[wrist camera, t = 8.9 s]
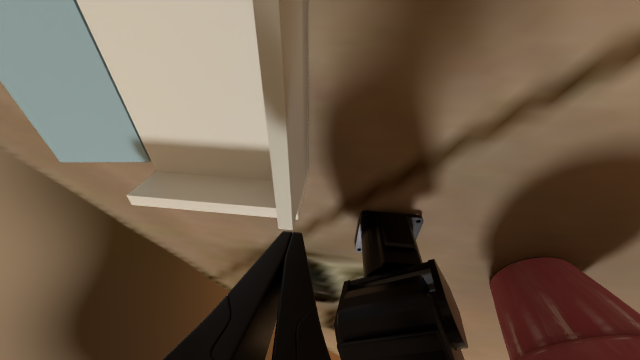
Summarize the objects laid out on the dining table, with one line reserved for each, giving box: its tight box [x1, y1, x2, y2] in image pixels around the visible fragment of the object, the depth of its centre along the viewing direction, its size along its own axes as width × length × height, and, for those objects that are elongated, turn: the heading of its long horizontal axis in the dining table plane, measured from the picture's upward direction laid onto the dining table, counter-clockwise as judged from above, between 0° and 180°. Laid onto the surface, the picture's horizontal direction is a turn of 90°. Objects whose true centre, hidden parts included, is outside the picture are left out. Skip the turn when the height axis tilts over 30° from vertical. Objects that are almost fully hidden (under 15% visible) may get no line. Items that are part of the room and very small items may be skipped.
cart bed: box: [76, 0, 309, 230], centre depth 14 cm, size 20×14×8 cm
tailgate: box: [0, 0, 151, 162], centre depth 16 cm, size 16×2×8 cm
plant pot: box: [490, 257, 640, 360], centre depth 23 cm, size 14×14×13 cm
